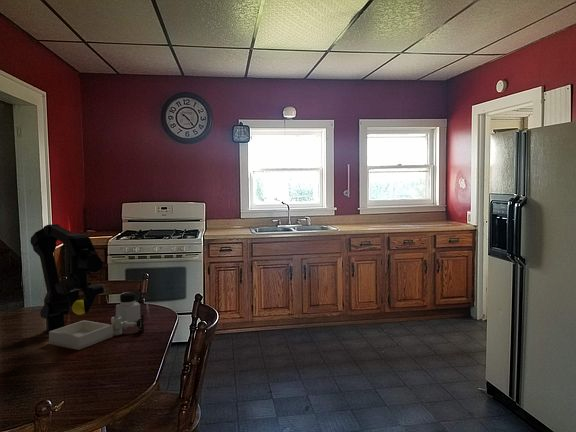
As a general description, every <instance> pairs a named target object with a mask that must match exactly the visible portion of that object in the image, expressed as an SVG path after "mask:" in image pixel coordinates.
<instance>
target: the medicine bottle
mask: <svg viewBox="0 0 576 432" xmlns="http://www.w3.org/2000/svg"><path fill="white" fill-rule="evenodd" d="M119 301H120V302H119V303H118V304H116V305H115V316H121V317H122V321H121V322H124V321H127V322H129V323H130V322H134V323H136V322H137V321H138V320H139V319H141V303H138V302H136V293H135V292H132V291H125V292H123V293H120V296H119Z"/></svg>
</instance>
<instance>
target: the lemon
mask: <svg viewBox="0 0 576 432" xmlns="http://www.w3.org/2000/svg"><path fill="white" fill-rule="evenodd" d="M71 310H72V312H73V313H74V314H76V315H78V316H79V315H84V314H86V313H85V310H84V300H83V299H78V300H77V301H76V302H74V303H73V306H72V308H71Z"/></svg>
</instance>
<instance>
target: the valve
mask: <svg viewBox="0 0 576 432" xmlns="http://www.w3.org/2000/svg"><path fill="white" fill-rule="evenodd" d="M140 317H141V319H139V320H138V321H136V322H130V323H129V322H127V321H124V322H121V321H122V317H121V316H116V315H115V316H112V317H111V318H110V322H111V324H110V325H112V326H113V337H115V336H120V335H122V334H123V329H124V330H126V329H127V328H129V327H132V328H133V327H135V326H136V327H137V328H138V329H139V330H140V332H145V322H144V321H145V320H144V319H145V318H144V317H145V315H144V314H140Z"/></svg>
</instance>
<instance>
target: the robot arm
mask: <svg viewBox="0 0 576 432" xmlns="http://www.w3.org/2000/svg"><path fill="white" fill-rule="evenodd" d="M58 241H59V242H61V243H63V244H64V247H65V249H67V250H68V251H69V252H68V253H67V257H69V264H70V267H69V268H70V272H67V276H66V278H64V279H62V280H61V281H60V278H59V274H58V269H57V265H56V258H55V254H54V253H55V250H56V248H57V242H58ZM30 244H31V246H32V250H33V251H34V252H35V254H36V255H37V256H39V259H40V263H41V264H40V265H41V268H42V273H43V279H44V283H45V288H46V294H45V297H44V298H43V303H44V305H43V306H42V308H41V310H39V313H40V318H41V319H42V318H43V319H44V320H45V325H46V326H45V327H46V328H45V330H42V333H45V334H49V331H52V330H55V329H58V328H61V327H64V326H66V323H65V315H69V312H70V308H71V309H72V306H73V303H74V302H76V301H77V300H79V297H80V298H82V300H84V310H85V313H84V314H87V313H89V311H90V309H91V307H92V305H93V303H94V302H95V301H94V300H95V299H96V298H97V296H98V295H101V294H104V293H105V287H104V286H103V285H101V284H100V285H99V284H93V285H92V283H91V282H90V281H89V275H91V273H93V274H94V273H95V274H96V273H97V272H99V271H101V269H102V268H103V267H102V266H103V260H102V259H101V257H99V256H98V254H97V252H96V247H95V246H94V244H93V242H92V240H91V238H90V236H89V235H88V234H86V233H76V232H75V233H74V232H73V231H71V230H69V229H67V228H65V227H62V226H61V224H58V223H57V224H56V223H53V224H46V225H44V226H43V228H41V229H39V230H37V231H36V232H34V233H33V235H32V236H31V237H30ZM80 292H82V294H81V295H80Z"/></svg>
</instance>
